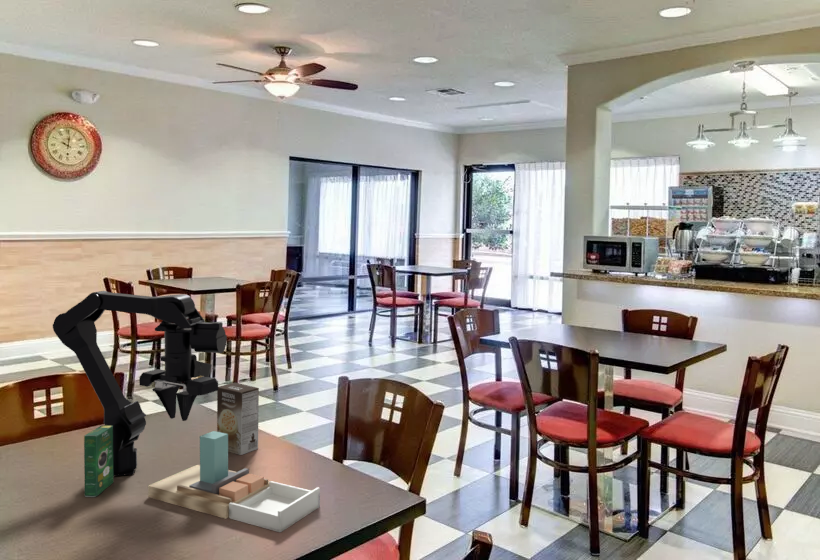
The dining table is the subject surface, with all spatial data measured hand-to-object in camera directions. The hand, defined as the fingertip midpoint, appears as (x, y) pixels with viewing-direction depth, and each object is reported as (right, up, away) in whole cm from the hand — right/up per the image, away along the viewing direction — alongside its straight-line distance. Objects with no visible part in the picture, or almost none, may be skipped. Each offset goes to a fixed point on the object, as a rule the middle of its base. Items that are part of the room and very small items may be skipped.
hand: (178, 419), depth 149 cm
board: (+10, -14, -10) cm, 20 cm away
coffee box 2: (+8, -12, +20) cm, 24 cm away
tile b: (+17, -12, -16) cm, 26 cm away
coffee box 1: (-14, -14, -8) cm, 21 cm away
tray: (+25, -15, -17) cm, 34 cm away
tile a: (+19, -12, -11) cm, 25 cm away
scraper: (+12, -12, -11) cm, 20 cm away
